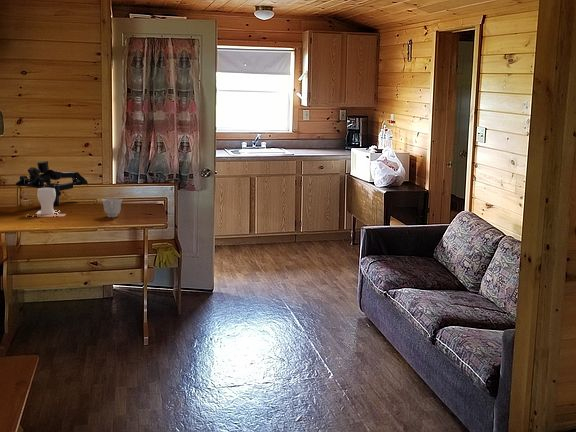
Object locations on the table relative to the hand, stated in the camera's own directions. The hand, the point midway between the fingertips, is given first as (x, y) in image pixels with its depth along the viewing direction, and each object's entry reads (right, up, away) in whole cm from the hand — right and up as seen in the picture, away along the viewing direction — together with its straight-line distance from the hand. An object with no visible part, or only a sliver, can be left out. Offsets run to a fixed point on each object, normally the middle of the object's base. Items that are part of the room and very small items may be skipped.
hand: (20, 185), depth 432 cm
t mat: (+18, -17, -5) cm, 26 cm away
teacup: (+59, -20, -11) cm, 63 cm away
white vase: (+18, -18, -5) cm, 26 cm away
